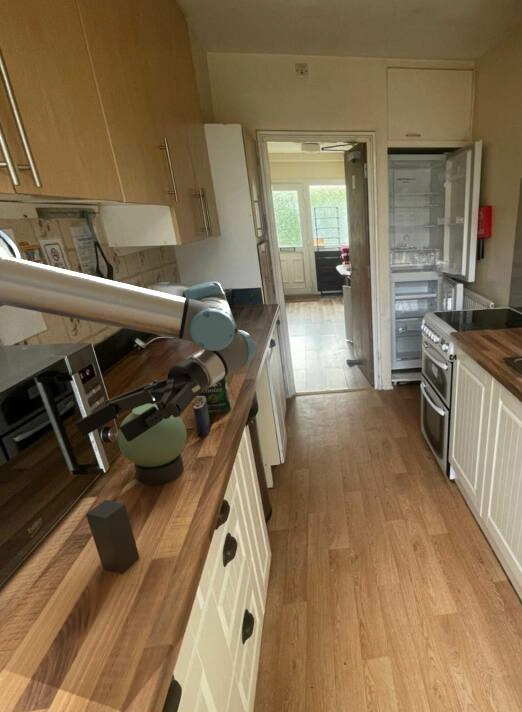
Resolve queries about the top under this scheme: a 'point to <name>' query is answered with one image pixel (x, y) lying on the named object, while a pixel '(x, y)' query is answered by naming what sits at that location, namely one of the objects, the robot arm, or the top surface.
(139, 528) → the top surface
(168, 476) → the green round vase
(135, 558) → the black block
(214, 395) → the coffee jar
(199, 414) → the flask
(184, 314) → the robot arm
